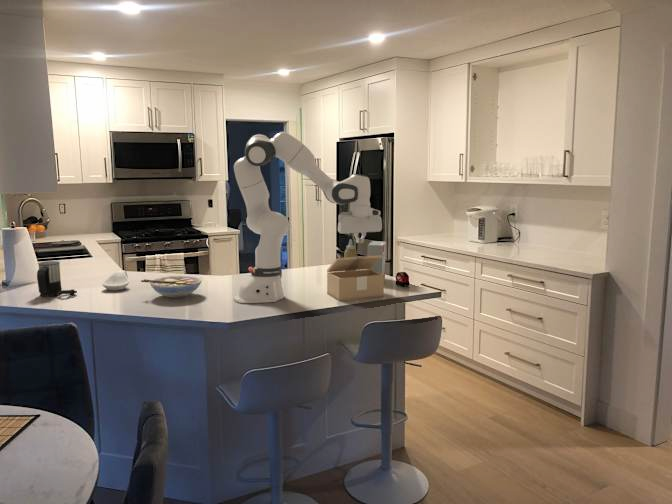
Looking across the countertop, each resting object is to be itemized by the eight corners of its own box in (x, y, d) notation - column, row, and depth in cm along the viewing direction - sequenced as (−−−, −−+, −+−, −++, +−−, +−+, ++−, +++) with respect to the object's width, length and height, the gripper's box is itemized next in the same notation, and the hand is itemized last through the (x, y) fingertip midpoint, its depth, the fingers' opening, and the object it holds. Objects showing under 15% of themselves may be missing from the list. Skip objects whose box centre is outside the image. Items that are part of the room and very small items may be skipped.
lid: (337, 260, 240) (336, 258, 241) (327, 272, 252) (326, 270, 253) (381, 257, 249) (381, 254, 249) (370, 268, 261) (369, 266, 261)
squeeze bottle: (360, 272, 303) (360, 240, 300) (346, 273, 300) (346, 240, 297) (354, 269, 311) (354, 238, 308) (340, 270, 308) (341, 238, 305)
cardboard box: (338, 301, 241) (339, 278, 240) (327, 293, 254) (327, 272, 252) (383, 296, 249) (384, 275, 248) (370, 289, 262) (370, 269, 261)
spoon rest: (127, 292, 256) (126, 277, 255) (100, 293, 254) (99, 278, 253) (135, 281, 279) (134, 267, 278) (111, 282, 277) (110, 268, 276)
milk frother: (41, 292, 254) (39, 261, 251) (79, 290, 259) (76, 259, 257) (36, 300, 240) (33, 267, 238) (76, 297, 246) (74, 264, 243)
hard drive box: (381, 285, 272) (382, 245, 269) (366, 284, 274) (367, 244, 271) (385, 278, 287) (386, 241, 284) (370, 278, 289) (371, 240, 286)
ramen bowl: (214, 292, 256) (213, 275, 254) (187, 304, 234) (186, 286, 233) (167, 288, 263) (166, 272, 261) (137, 300, 241) (136, 282, 240)
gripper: (341, 212, 235) (341, 244, 237) (383, 211, 242) (383, 242, 245) (335, 211, 240) (335, 242, 243) (377, 210, 248) (377, 240, 250)
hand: (359, 242), depth 244 cm, fingers closed
